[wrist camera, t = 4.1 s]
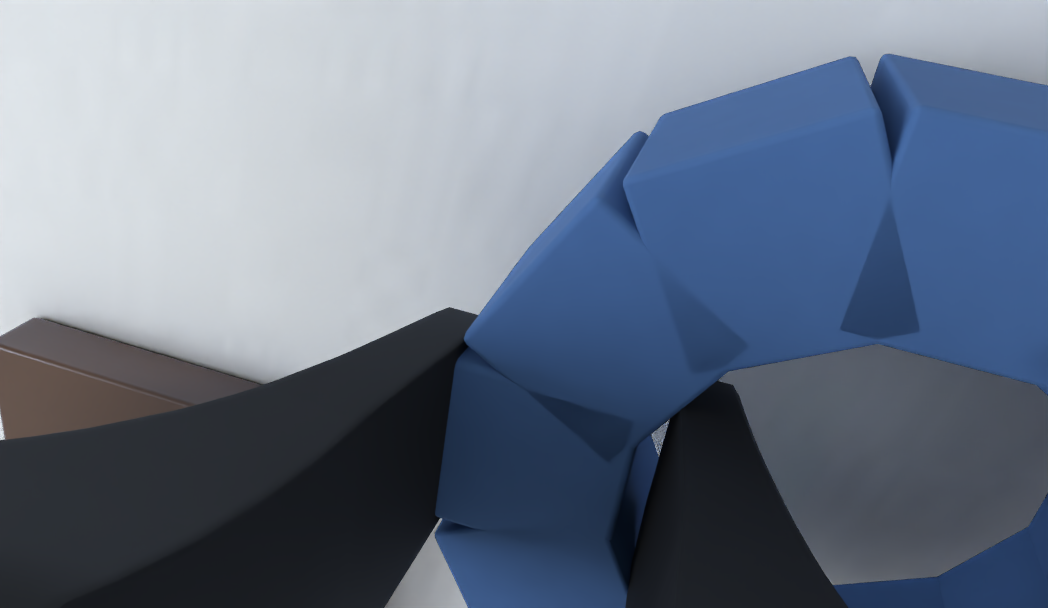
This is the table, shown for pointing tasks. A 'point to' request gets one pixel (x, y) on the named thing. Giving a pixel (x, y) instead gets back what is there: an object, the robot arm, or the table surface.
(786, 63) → the table surface
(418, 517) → the robot arm
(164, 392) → the peg stand
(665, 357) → the ring
